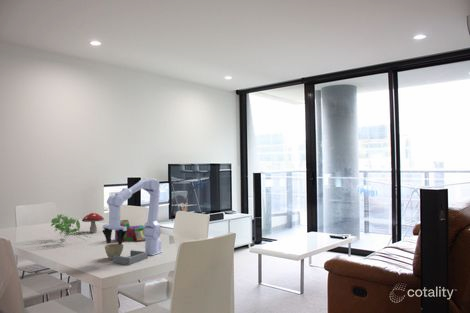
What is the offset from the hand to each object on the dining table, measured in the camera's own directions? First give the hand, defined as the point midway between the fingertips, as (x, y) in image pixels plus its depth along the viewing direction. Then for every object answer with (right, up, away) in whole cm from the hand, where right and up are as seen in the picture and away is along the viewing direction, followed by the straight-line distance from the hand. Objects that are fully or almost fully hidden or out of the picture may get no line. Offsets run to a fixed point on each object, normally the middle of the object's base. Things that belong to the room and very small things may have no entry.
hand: (114, 243), depth 197 cm
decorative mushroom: (-46, -13, +89) cm, 101 cm away
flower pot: (-3, -11, +9) cm, 15 cm away
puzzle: (-5, -12, +62) cm, 64 cm away
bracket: (+7, -10, +5) cm, 13 cm away
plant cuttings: (-48, -12, +54) cm, 73 cm away
